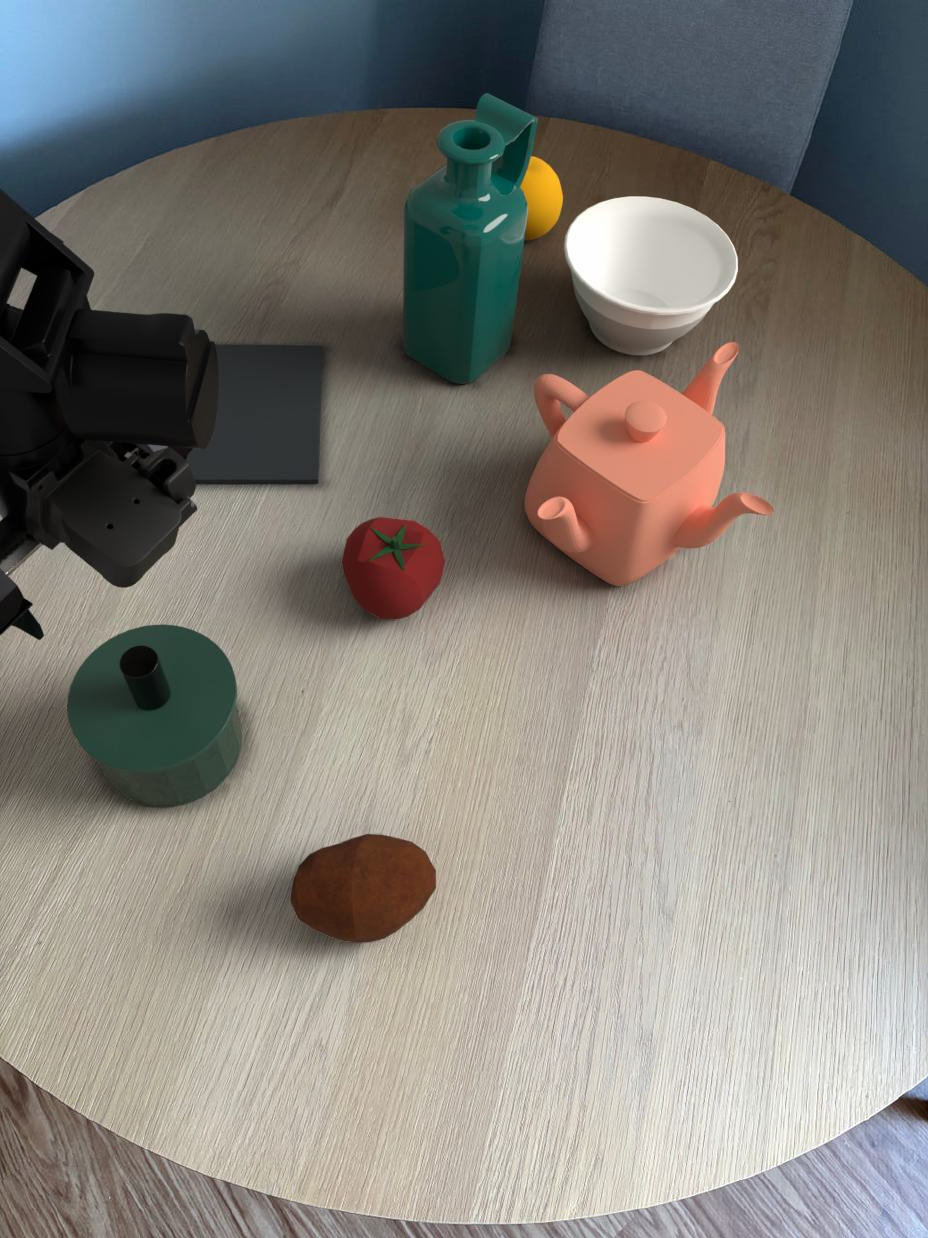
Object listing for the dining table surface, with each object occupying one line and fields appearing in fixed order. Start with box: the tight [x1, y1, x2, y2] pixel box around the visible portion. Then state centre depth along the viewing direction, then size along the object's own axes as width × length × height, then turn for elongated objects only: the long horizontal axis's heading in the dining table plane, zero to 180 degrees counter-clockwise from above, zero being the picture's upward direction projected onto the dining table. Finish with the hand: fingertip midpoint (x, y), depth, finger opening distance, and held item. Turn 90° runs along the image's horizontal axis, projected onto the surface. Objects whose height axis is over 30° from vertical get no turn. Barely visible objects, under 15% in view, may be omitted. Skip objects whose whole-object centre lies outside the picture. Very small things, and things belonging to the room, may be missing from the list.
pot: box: [524, 341, 775, 587], centre depth 84 cm, size 18×17×12 cm
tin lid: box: [66, 624, 238, 774], centre depth 68 cm, size 11×11×6 cm
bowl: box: [563, 195, 739, 356], centre depth 99 cm, size 16×16×9 cm
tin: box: [96, 705, 243, 808], centre depth 73 cm, size 10×10×7 cm
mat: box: [187, 343, 324, 485], centre depth 93 cm, size 18×16×1 cm
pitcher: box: [402, 92, 539, 385], centre depth 90 cm, size 10×8×22 cm
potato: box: [289, 833, 437, 944], centre depth 68 cm, size 7×9×6 cm
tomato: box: [340, 516, 446, 621], centre depth 81 cm, size 8×8×7 cm
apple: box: [520, 155, 564, 241], centre depth 106 cm, size 8×8×8 cm
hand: (89, 583), depth 67 cm, fingers open, 9 cm apart
